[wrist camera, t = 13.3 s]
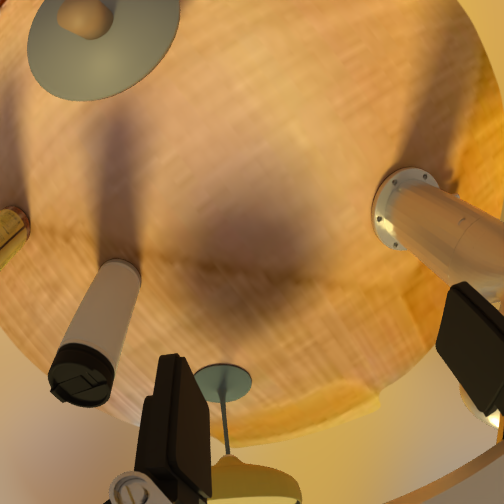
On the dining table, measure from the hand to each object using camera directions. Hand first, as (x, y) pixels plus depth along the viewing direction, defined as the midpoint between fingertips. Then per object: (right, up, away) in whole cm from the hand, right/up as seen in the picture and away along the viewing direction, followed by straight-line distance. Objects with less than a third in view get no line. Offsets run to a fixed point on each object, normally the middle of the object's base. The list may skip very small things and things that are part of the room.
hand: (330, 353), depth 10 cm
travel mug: (-21, 0, +30) cm, 37 cm away
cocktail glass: (-8, -20, +42) cm, 47 cm away
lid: (-17, +25, +11) cm, 32 cm away
